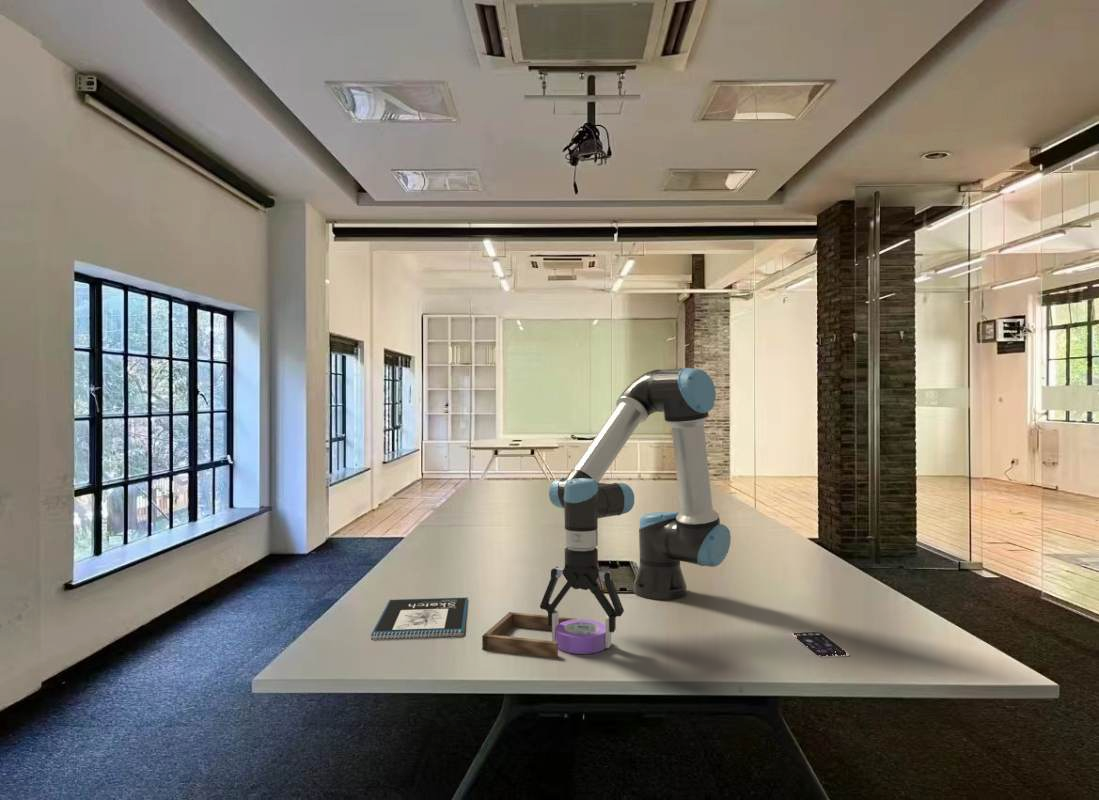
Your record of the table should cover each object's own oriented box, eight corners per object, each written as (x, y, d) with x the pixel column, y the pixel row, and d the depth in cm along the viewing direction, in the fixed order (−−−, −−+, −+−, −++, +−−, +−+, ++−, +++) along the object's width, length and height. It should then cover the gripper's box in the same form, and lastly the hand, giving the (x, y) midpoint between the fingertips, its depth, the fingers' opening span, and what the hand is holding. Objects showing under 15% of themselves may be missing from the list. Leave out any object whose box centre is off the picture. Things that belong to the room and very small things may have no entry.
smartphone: (820, 631, 158) (852, 655, 143) (820, 634, 158) (852, 658, 143) (789, 632, 158) (818, 656, 143) (789, 635, 158) (818, 659, 143)
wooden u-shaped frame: (576, 631, 159) (576, 618, 159) (556, 657, 143) (556, 643, 143) (509, 624, 164) (509, 612, 164) (482, 649, 148) (482, 635, 148)
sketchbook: (467, 602, 185) (467, 594, 185) (463, 640, 155) (463, 631, 155) (389, 604, 183) (389, 596, 183) (370, 642, 153) (370, 633, 153)
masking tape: (604, 655, 143) (604, 638, 143) (551, 652, 145) (551, 635, 145) (609, 636, 155) (609, 620, 155) (560, 634, 157) (560, 617, 157)
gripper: (525, 547, 150) (526, 643, 150) (630, 554, 143) (630, 654, 143) (536, 540, 157) (536, 632, 157) (636, 547, 150) (636, 642, 150)
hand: (581, 643), depth 150 cm, fingers closed on masking tape, 12 cm apart
